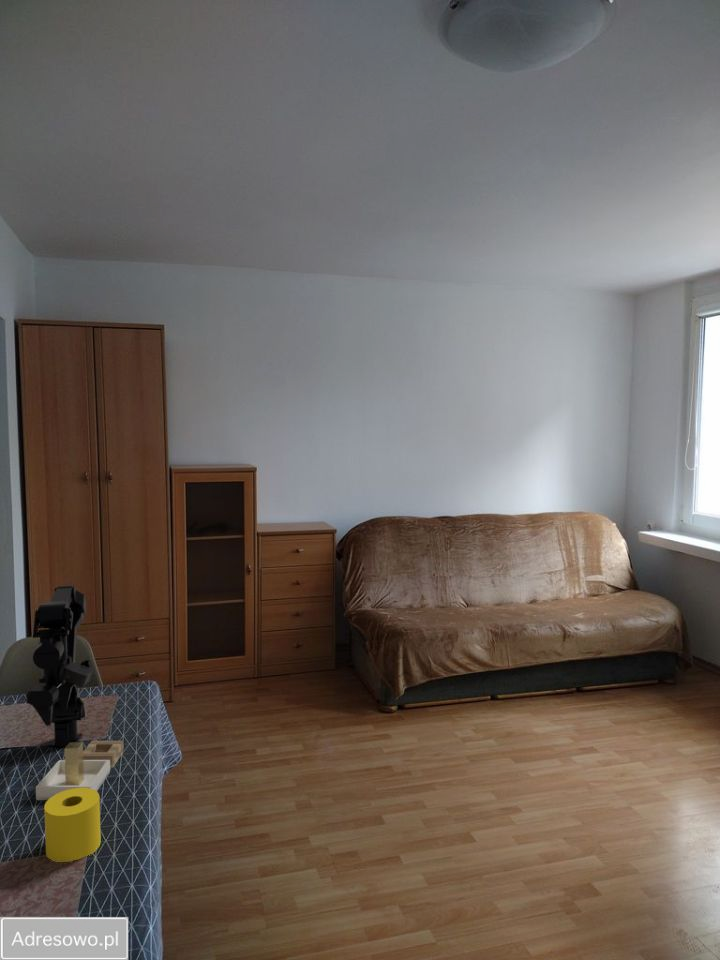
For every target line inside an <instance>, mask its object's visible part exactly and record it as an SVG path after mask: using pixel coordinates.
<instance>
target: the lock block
mask: <svg viewBox="0 0 720 960" xmlns="http://www.w3.org/2000/svg"><path fill="white" fill-rule="evenodd" d="M123 753H124V740H91V741H90V742H89V743H88V745H87V746H86V747H85V749H83V760H110V769H113V768H114V766H116V763H117V762H118V761H119V759H120V758H121V756H123V755H122V754H123Z"/></svg>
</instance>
